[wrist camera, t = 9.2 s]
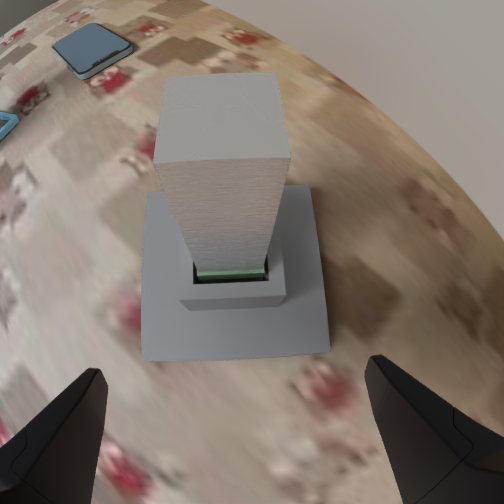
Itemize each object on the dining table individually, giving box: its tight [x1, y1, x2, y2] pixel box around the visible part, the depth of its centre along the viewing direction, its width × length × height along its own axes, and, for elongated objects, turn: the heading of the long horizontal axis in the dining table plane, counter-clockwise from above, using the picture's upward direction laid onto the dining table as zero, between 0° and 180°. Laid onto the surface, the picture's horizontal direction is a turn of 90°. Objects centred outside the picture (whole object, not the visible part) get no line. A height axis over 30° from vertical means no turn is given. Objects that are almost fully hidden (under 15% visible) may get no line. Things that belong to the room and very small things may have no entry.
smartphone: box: [52, 23, 133, 80], centre depth 31 cm, size 8×2×15 cm
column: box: [153, 73, 291, 280], centre depth 13 cm, size 4×3×10 cm
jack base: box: [141, 185, 331, 361], centre depth 19 cm, size 12×12×6 cm
